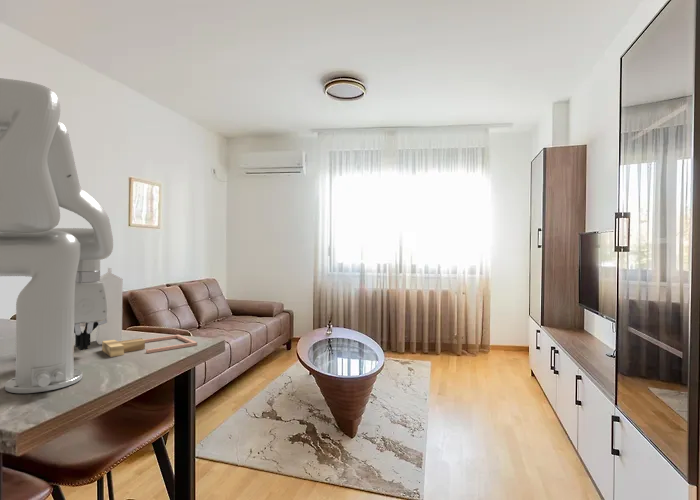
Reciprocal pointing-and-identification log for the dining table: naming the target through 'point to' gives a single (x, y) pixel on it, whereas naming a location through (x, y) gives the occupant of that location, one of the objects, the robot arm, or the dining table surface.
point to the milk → (111, 309)
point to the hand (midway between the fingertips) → (82, 348)
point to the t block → (122, 346)
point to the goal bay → (189, 343)
